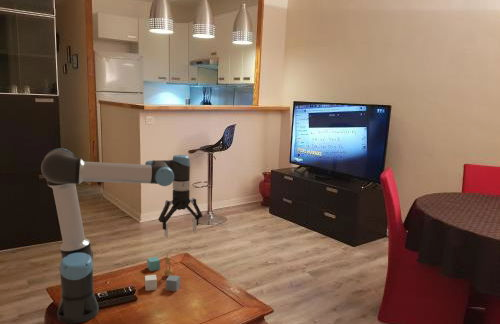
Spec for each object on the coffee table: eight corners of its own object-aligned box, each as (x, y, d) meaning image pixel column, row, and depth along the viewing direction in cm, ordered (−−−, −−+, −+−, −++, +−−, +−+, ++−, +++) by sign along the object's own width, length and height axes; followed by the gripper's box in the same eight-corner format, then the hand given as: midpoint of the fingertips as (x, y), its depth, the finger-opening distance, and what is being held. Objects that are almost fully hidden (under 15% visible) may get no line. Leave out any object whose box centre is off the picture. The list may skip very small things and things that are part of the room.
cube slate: (165, 290, 180) (165, 280, 179) (169, 285, 185) (169, 275, 184) (176, 291, 179) (176, 281, 178) (179, 286, 184) (179, 276, 183)
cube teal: (150, 271, 198) (150, 262, 197) (147, 267, 202) (147, 258, 201) (160, 269, 200) (160, 260, 199) (156, 265, 205) (156, 256, 204)
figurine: (177, 274, 196) (177, 251, 193) (175, 280, 190) (176, 256, 188) (160, 274, 195) (160, 251, 193) (158, 279, 189) (158, 256, 187)
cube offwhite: (145, 290, 179) (145, 280, 178) (145, 285, 183) (144, 275, 182) (156, 289, 180) (156, 279, 179) (156, 284, 185) (156, 274, 184)
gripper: (156, 193, 170) (156, 240, 174) (209, 188, 182) (208, 233, 185) (151, 189, 176) (151, 234, 180) (203, 185, 188) (202, 228, 192)
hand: (180, 234), depth 183 cm, fingers open, 13 cm apart
